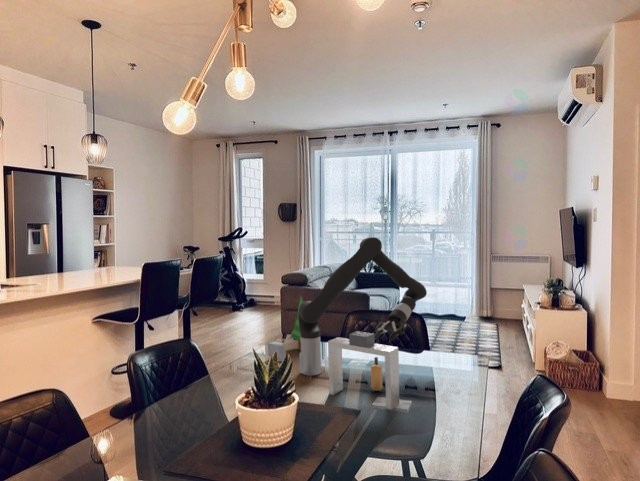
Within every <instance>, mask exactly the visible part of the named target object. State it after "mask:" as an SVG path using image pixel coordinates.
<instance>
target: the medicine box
mask: <svg viewBox="0 0 640 481" xmlns="http://www.w3.org/2000/svg"><path fill="white" fill-rule="evenodd" d="M267 352H268V355H267V356H270V357H271V356H272V355H273V354H274V352H277V355H278V360H279V363H281V362H283V361H282V360H283V359H284V358H286V344H285V343H284V342H278V341H271V342H269V343H267ZM280 361H281V362H280Z"/></svg>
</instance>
